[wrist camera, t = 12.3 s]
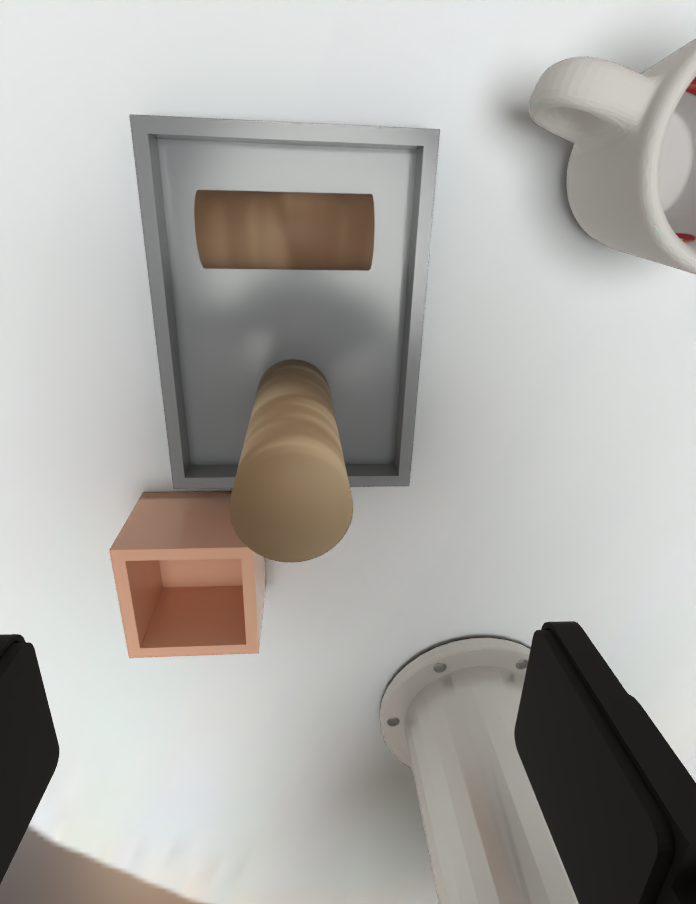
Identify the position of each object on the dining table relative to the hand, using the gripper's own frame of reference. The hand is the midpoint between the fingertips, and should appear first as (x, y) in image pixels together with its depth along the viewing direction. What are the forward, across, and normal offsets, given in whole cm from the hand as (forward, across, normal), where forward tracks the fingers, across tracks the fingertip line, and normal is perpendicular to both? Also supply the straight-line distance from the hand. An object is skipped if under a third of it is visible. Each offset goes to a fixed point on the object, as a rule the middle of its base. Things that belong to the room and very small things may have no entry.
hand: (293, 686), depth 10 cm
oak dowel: (+18, 0, -1) cm, 18 cm away
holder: (+19, +6, +8) cm, 21 cm away
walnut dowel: (+17, +1, -9) cm, 20 cm away
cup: (+19, -13, -12) cm, 26 cm away
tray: (+19, +1, -4) cm, 19 cm away
